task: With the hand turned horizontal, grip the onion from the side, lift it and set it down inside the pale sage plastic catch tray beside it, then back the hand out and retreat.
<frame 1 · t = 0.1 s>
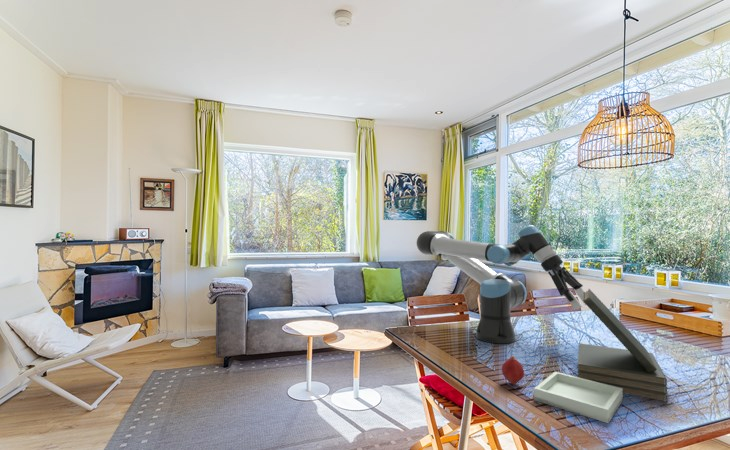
hand: (584, 306, 136), 15 cm above the table, tool tilted 35°, fingers open, 13 cm apart
onion: (512, 384, 102), on the table
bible: (617, 380, 106), on the table
catch tray: (578, 400, 92), on the table
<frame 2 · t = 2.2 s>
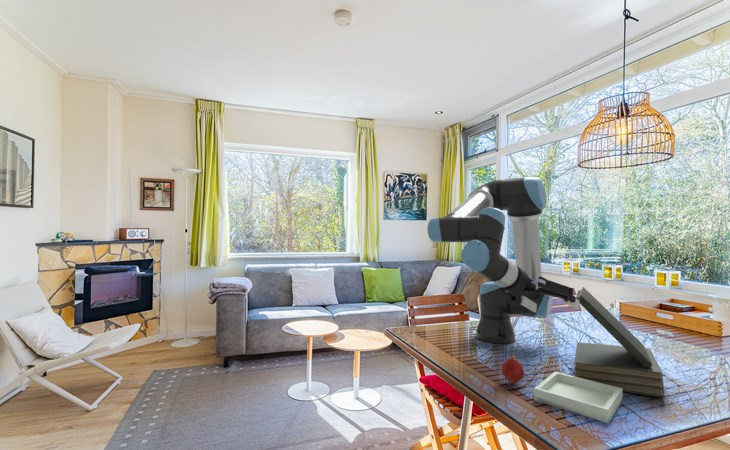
hand: (555, 307, 108), 21 cm above the table, tool tilted 60°, fingers open, 13 cm apart
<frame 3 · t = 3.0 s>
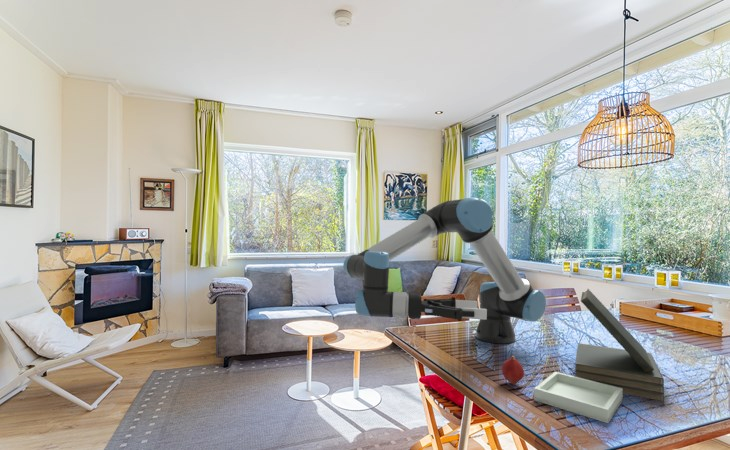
hand: (481, 309, 104), 21 cm above the table, tool horizontal, fingers open, 13 cm apart
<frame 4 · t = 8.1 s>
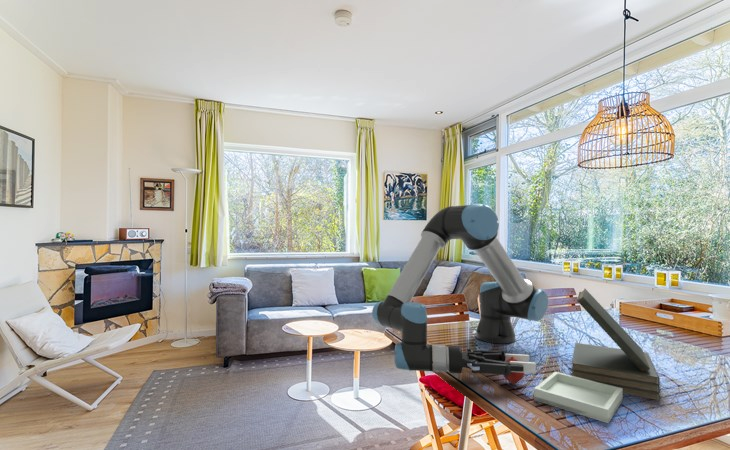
hand: (532, 363, 101), 6 cm above the table, tool horizontal, fingers closed on onion, 6 cm apart
onion: (512, 384, 102), on the table, touching gripper
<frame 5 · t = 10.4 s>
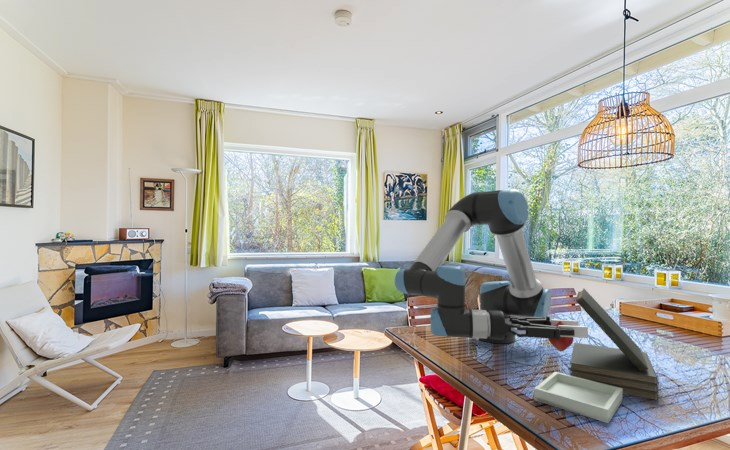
hand: (582, 328, 93), 18 cm above the table, tool horizontal, fingers closed on onion, 6 cm apart
onion: (560, 351, 94), point 12 cm above the table, touching gripper
when the fingers open (9 cm above the table, at t = 12.7 s): onion drops 2 cm, resting on catch tray.
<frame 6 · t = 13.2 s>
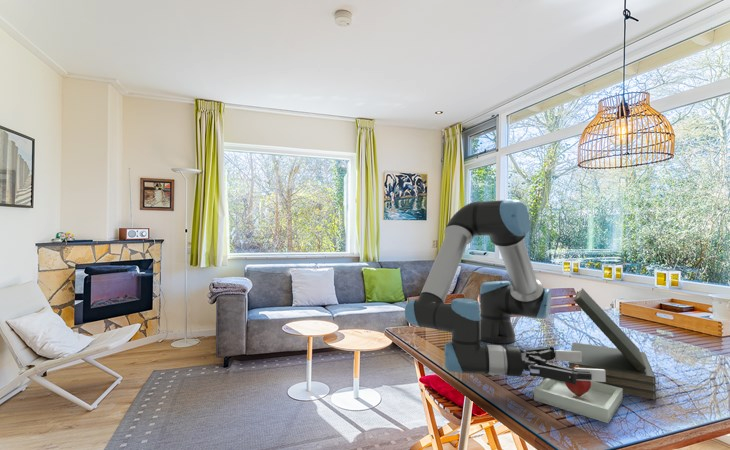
hand: (592, 365, 91), 9 cm above the table, tool horizontal, fingers open, 13 cm apart
onion: (578, 396, 92), point 1 cm above the table, touching catch tray
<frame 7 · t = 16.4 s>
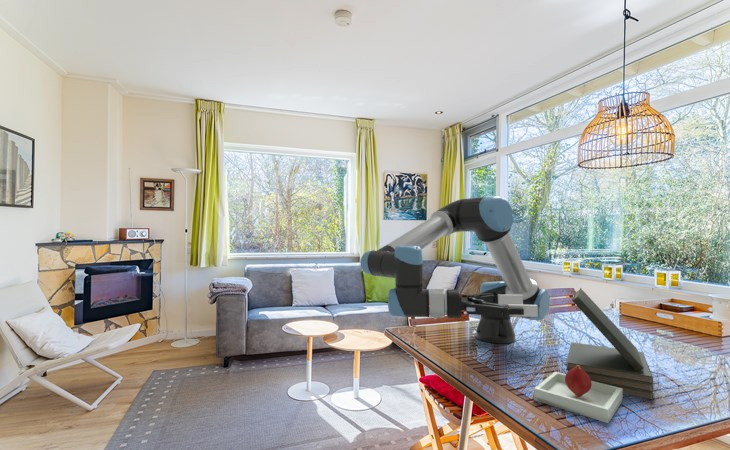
hand: (529, 304, 93), 24 cm above the table, tool horizontal, fingers open, 13 cm apart
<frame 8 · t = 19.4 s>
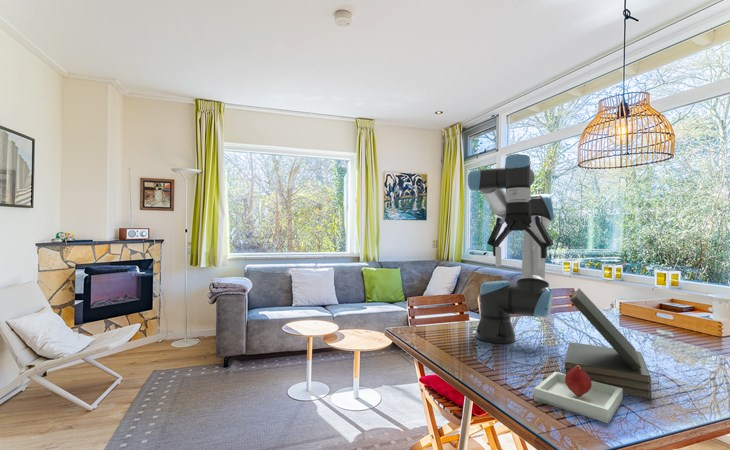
hand: (518, 267, 116), 32 cm above the table, tool pointing down, fingers open, 13 cm apart
at the end: onion inside the target area on the catch tray (0.0 cm from its centre), point 0.8 cm above the catch tray's base; the gripper is holding nothing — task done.
